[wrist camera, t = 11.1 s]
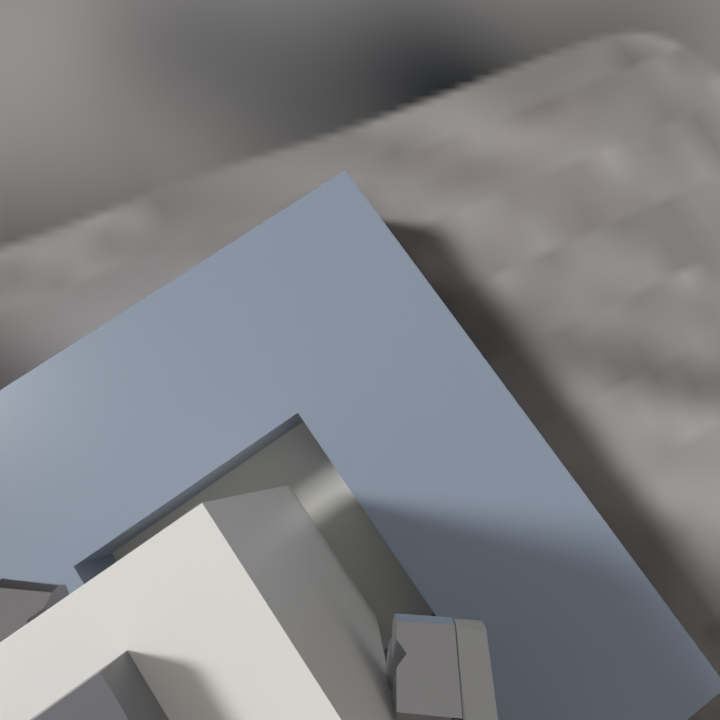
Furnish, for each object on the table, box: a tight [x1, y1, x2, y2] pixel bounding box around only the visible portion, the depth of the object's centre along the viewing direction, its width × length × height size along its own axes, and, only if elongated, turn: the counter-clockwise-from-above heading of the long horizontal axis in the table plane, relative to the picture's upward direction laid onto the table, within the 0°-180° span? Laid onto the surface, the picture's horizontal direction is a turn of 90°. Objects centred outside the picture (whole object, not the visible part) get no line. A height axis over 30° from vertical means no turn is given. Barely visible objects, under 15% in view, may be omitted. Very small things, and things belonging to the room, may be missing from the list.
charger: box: [0, 485, 394, 720], centre depth 11 cm, size 4×4×11 cm
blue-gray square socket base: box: [0, 170, 720, 720], centre depth 16 cm, size 16×16×3 cm
